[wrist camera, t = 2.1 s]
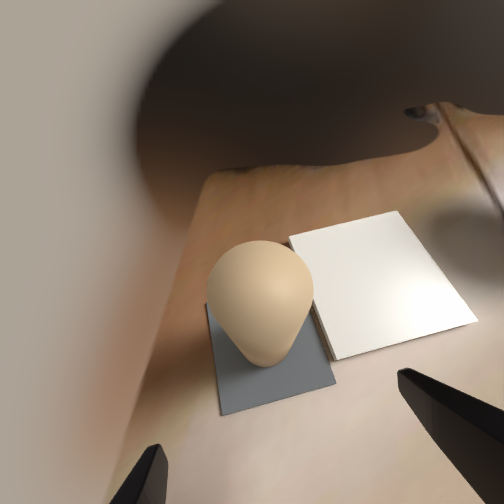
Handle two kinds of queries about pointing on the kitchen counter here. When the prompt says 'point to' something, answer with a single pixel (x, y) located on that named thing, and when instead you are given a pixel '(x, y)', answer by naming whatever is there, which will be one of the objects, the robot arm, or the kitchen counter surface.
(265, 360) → the tan tapered rounded piece
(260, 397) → the mat
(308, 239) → the cutting board
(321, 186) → the kitchen counter surface
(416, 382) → the robot arm
